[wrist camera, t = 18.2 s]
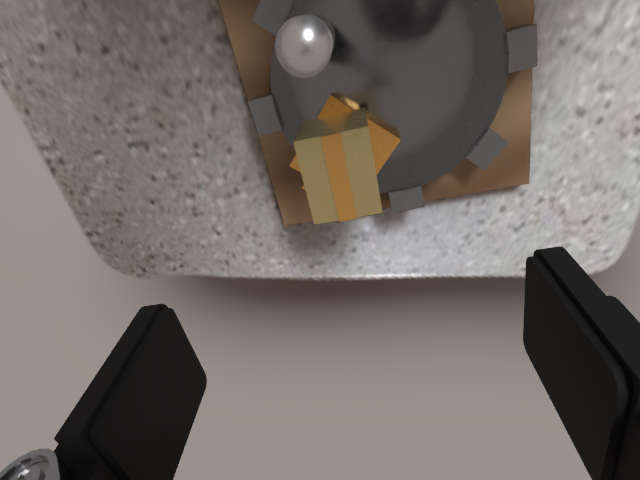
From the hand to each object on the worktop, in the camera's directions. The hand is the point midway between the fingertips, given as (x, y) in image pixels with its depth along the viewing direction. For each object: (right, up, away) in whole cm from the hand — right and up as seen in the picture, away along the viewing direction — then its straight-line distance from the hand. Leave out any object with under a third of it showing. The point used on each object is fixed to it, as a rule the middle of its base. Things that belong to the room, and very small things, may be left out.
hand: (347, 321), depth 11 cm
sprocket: (+3, +12, +15) cm, 19 cm away
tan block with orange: (+1, +8, +16) cm, 17 cm away
